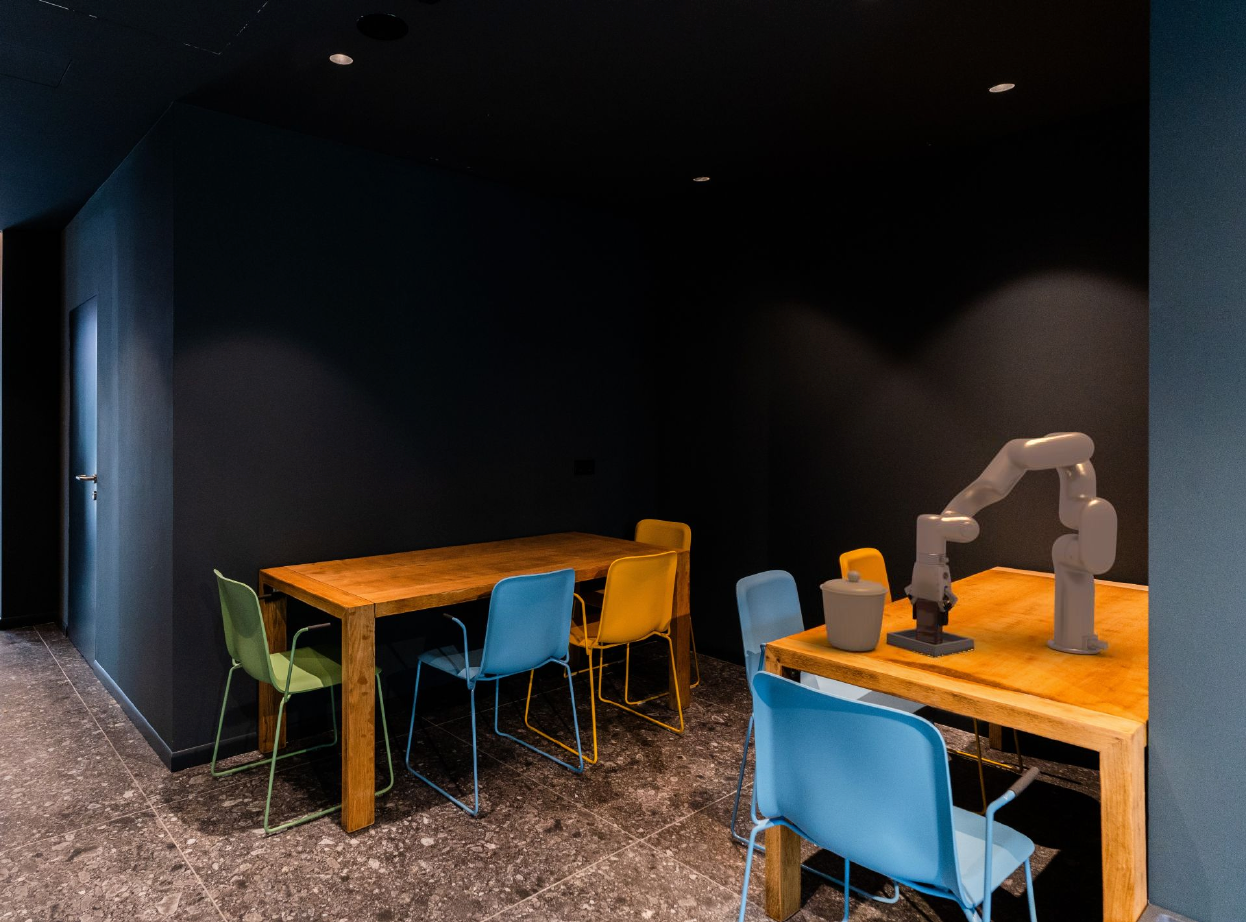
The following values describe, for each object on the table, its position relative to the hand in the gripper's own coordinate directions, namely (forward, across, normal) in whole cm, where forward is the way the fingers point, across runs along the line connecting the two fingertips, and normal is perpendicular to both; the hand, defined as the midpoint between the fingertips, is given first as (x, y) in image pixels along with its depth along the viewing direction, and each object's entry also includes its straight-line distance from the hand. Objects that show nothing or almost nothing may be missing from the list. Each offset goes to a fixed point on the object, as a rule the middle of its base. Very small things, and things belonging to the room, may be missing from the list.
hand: (930, 621), depth 209 cm
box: (+6, 0, 0) cm, 6 cm away
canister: (+7, +10, +19) cm, 23 cm away
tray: (+7, 0, 0) cm, 7 cm away
